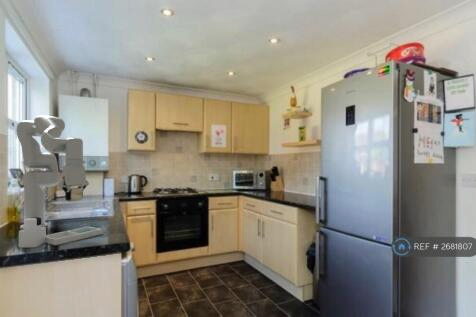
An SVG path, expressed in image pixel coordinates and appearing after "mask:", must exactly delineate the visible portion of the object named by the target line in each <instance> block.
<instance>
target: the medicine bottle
mask: <svg viewBox="0 0 476 317" xmlns="http://www.w3.org/2000/svg"><path fill="white" fill-rule="evenodd" d="M23 225H24V228H25V229H21V230H18V248H22V249H26V248H27V249H28V248H37V247H39V246H41V245H44V244H47V243H46V235H47V226H45V227H41V218H39V217H31V218H27V219H25V220H24V219H23Z"/></svg>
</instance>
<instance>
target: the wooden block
mask: <svg viewBox="0 0 476 317" xmlns="http://www.w3.org/2000/svg"><path fill="white" fill-rule="evenodd" d="M70 192H71V200H66V199H65V201H66V202H77V201H78V202H79V201H83V197H82V188H78V187H71V188H70Z"/></svg>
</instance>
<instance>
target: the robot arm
mask: <svg viewBox="0 0 476 317" xmlns="http://www.w3.org/2000/svg"><path fill="white" fill-rule="evenodd" d="M65 127H66V123H65V121H64V120H63V119H62V118H60V117H57V116H51V115H37V116H36V117H35V118H34V120H22V121H20V122H18V124H17V125H16V136H17V138H18V142H19V143H20V146H21V153H22V159H23V160H22V161H23V165H24V167H25V168H26V169H29V171H26V172H24V173H23V175H22V185H23V191H24V192H23V194H24V197H23V198H24V202H23V210H24V211H23V221H24V220H25V219H27V218H31V217H39V218H41V227H48V226H49V222H47V221H46V193H45V192H44V191H43V190H42V188H49V187H56V186H58V188H60V189H61V190H63V192H64V194H65V195H64V197H65V201H66V200H71V192H70V188H72V187H75V186H77V187H76V188H82V198H83V196H84V195H83V194H84V190H85V189H86V188H87V187H88V186H89V185H90V183H89V181H87V178H86V177H87V174H86V168H85V165H84V164H85V163H86V161H85V160H84V152H83V151H84V142H83V139H82V138H77V137H68V138H64V137H62V138H60V137H61V136H62V133H63V132H64V130H65ZM34 137H39V138H40V142H41V145H42V147H43V148H44V149H45V150H46V151H47V152H42V150H41V146H40V143H39V142H38V141H37V139H36V138H34ZM54 154H65V159H64V160H65V162H64V163H65V165H63V167H62V171H61V178H60V172H59V166H58V160H57V157H56V155H54ZM42 169H44V170H42ZM19 226H20V227H19V228H20V229H21V230H24V229H25V228H24V224H22V225H19Z"/></svg>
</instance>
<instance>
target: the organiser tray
mask: <svg viewBox="0 0 476 317" xmlns="http://www.w3.org/2000/svg"><path fill="white" fill-rule="evenodd" d="M99 235H103V229H102V228H98V227H94V226H93V227H92V226H85V227H79V228H75V229H70V230H65V231H60V232H55V233H54V232H53V233H50V234H46V243H45V244H50V245H53V246H58V245H62V244H66V243H71V242H75V241H79V240H83V239H86V238H87V239H88V238H91V237H95V236H99Z"/></svg>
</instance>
